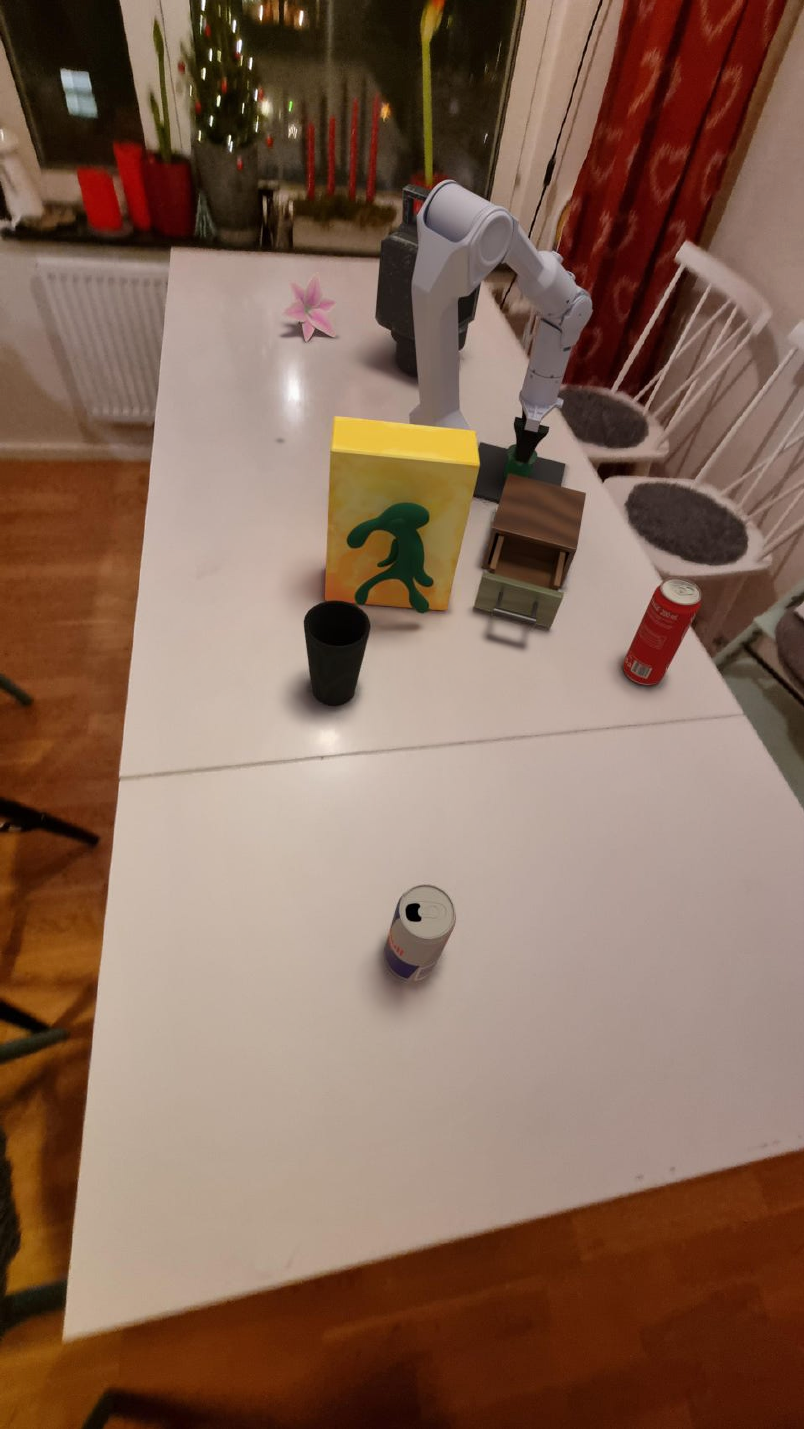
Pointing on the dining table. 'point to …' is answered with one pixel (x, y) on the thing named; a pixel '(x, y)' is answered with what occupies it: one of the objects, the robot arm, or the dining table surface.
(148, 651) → the dining table surface
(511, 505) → the cabinet
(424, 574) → the mottled yellow carton
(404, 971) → the energy drink
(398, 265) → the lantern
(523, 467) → the green cylinder
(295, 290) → the lily
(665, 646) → the beverage can
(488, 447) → the mat
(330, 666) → the cup
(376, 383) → the dining table surface
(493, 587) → the drawer
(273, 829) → the dining table surface
